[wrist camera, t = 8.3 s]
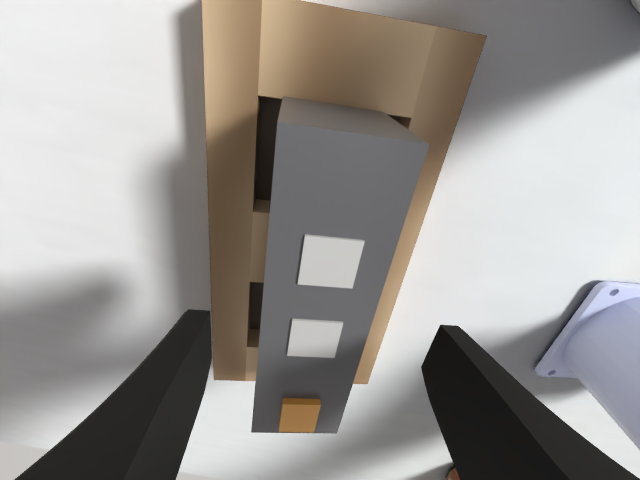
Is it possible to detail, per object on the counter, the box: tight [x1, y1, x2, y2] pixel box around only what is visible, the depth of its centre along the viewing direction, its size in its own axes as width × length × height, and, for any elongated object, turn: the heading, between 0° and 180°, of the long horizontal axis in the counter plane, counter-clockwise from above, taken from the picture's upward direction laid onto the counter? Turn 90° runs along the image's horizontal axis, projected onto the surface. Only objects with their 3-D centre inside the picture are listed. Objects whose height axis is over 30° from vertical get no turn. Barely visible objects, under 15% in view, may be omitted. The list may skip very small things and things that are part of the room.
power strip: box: [251, 96, 429, 433], centre depth 13 cm, size 4×12×6 cm, turn 171°
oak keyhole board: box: [202, 0, 487, 384], centre depth 15 cm, size 9×18×2 cm, turn 172°
